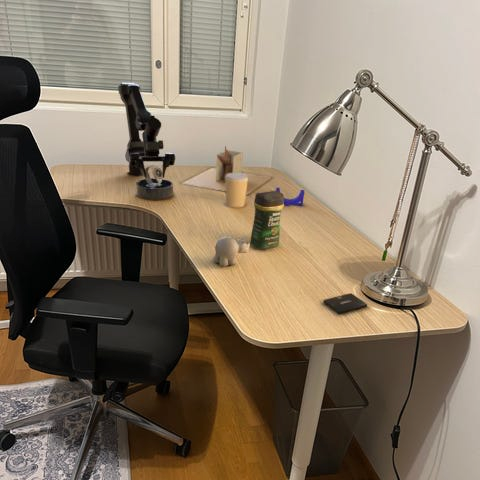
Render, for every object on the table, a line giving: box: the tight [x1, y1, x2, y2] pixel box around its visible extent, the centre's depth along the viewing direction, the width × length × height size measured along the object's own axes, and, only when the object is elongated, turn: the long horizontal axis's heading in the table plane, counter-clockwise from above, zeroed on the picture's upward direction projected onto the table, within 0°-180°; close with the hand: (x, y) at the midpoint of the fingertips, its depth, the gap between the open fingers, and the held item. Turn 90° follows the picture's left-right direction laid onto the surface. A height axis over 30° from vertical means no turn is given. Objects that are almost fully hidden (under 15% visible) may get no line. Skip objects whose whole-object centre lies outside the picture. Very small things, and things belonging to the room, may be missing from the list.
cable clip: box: [275, 187, 305, 207], centre depth 197 cm, size 12×4×6 cm, turn 84°
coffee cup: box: [225, 173, 248, 208], centre depth 190 cm, size 9×9×12 cm
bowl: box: [135, 177, 174, 201], centre depth 196 cm, size 15×15×5 cm
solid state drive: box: [323, 293, 368, 315], centre depth 127 cm, size 7×10×1 cm
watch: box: [145, 165, 164, 188], centre depth 194 cm, size 6×8×11 cm
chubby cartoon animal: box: [213, 236, 250, 267], centre depth 143 cm, size 7×12×8 cm, turn 120°
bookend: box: [214, 146, 246, 182], centre depth 219 cm, size 9×11×17 cm
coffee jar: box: [249, 189, 285, 250], centre depth 153 cm, size 10×8×19 cm
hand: (154, 177), depth 192 cm, fingers closed on watch, 7 cm apart
